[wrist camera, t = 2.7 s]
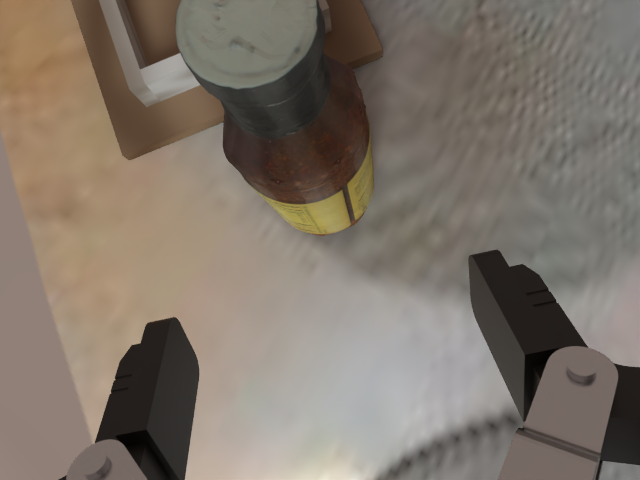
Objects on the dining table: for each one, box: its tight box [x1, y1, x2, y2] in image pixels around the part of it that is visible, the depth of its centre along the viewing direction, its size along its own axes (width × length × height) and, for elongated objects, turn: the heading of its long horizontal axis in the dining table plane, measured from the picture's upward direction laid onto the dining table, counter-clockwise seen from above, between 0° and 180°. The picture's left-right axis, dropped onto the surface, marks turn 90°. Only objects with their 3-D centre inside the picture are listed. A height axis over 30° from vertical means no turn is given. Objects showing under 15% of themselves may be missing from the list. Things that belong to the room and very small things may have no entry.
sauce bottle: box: [175, 0, 374, 236], centre depth 24 cm, size 7×6×20 cm
